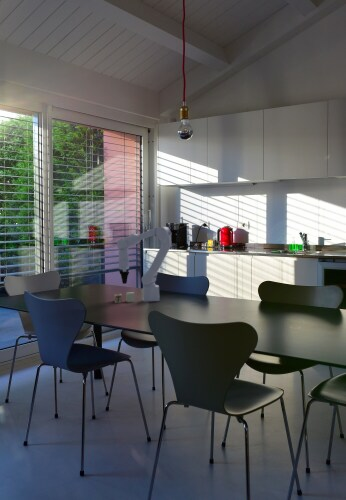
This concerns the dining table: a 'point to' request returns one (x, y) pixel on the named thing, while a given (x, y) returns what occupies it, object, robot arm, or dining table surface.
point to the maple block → (118, 298)
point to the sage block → (130, 297)
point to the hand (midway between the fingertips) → (124, 282)
